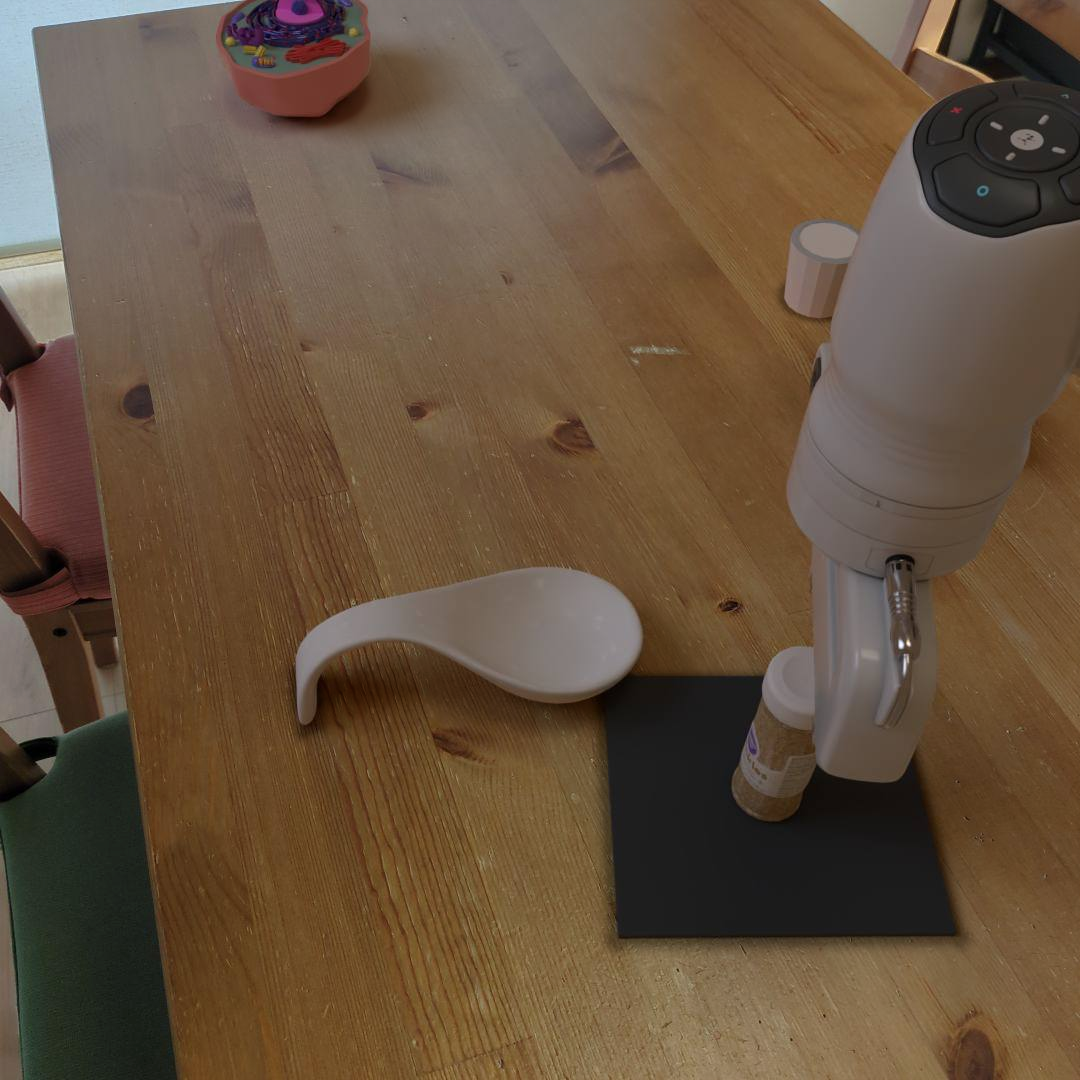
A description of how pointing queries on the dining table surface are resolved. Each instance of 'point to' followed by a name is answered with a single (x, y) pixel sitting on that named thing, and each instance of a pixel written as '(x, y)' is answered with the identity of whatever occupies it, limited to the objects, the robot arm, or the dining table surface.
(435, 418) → the dining table surface
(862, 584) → the robot arm
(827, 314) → the white short cylinder
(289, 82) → the cell model
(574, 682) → the spoon rest
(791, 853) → the mat
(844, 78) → the dining table surface
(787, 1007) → the dining table surface
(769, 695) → the sprinkles bottle
